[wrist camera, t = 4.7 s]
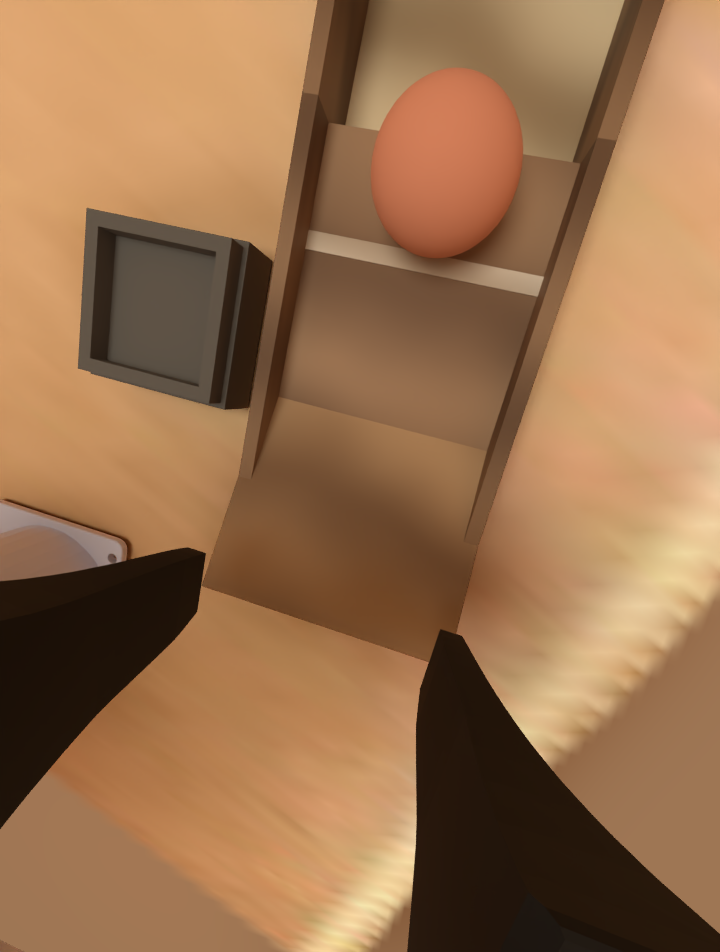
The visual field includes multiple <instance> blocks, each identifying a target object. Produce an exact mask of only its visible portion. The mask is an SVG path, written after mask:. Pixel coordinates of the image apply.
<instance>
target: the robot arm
mask: <svg viewBox="0 0 720 952" xmlns="http://www.w3.org/2000/svg"><path fill="white" fill-rule="evenodd" d="M114 555H115V556H116V558H117V559H116V558H115V557H114ZM205 556H206V553H203V552H200V551H197V550H194V549H191V548H180V549H175V550H170V551H165V552H161V553H156V554H152V555H148V556H144V557H139V558H135V559H131V560H126V557H127V545H126V543H125V542H124V541H123V540H122V539H120V538H118V537H114V536H111V535H108V534H105V533H102V532H99V531H96V530H93V529H90V528H87V527H84V526H81V525H78V524H75V523H72V522H69V521H66V520H63V519H60V518H56V517H53V516H50V515H47V514H44V513H41V512H38V511H35V510H32V509H29V508H26V507H23V506H20V505H17V504H14V503H11V502H8V501H5V500H0V829H1V827H2V826H3V825H4V823H5V822H6V821H7V820H8V818H9V817H10V816H11V815H12V813H13V812H14V811H15V810H16V809H17V807H18V806H19V805H20V804H21V802H22V801H23V800H24V799H25V797H26V796H27V795H28V794H29V793H30V791H31V790H32V789H33V788H34V787H35V785H36V784H37V783H38V782H39V781H40V779H41V778H42V777H43V776H44V775H45V774H46V772H47V771H48V770H49V769H50V768H51V766H52V765H53V764H54V763H55V762H56V761H57V759H58V758H59V757H60V756H61V755H62V753H63V752H64V751H65V750H66V749H67V748H68V747H69V745H70V744H71V743H72V742H73V741H74V740H75V739H76V738H77V736H78V735H79V734H80V733H81V732H82V731H83V730H84V729H85V727H86V726H87V725H88V724H89V723H90V722H91V721H92V719H93V718H94V717H95V716H96V715H97V714H98V713H99V712H100V711H101V710H102V709H103V708H104V707H105V706H106V705H107V704H108V703H109V702H110V701H111V700H112V699H113V698H114V697H115V696H116V695H117V694H118V693H119V692H120V691H121V690H122V689H123V688H125V687H126V686H127V685H128V684H129V683H130V682H131V681H132V680H133V679H134V678H135V677H136V676H137V675H138V674H139V673H140V672H141V671H142V670H144V669H145V668H146V667H147V666H148V665H149V664H150V663H151V662H152V661H153V660H154V659H155V658H156V657H157V656H158V655H159V654H160V653H161V652H162V651H163V650H164V649H165V648H166V647H167V646H169V645H170V644H171V643H172V642H173V641H174V640H175V638H176V637H177V636H178V635H179V634H180V632H181V631H182V630H183V629H184V628H185V626H186V625H187V624H188V623H189V621H190V620H191V619H192V618H193V616H194V615H195V614H196V612H197V609H198V602H199V595H200V589H201V582H202V576H203V569H204V562H205ZM416 793H417V828H416V851H415V864H414V877H413V891H412V903H411V915H410V927H409V938H408V949H407V952H720V934H719V933H718V932H717V931H716V930H715V929H713V928H712V927H711V926H710V925H709V924H708V923H707V922H706V921H705V920H703V919H702V918H701V917H700V916H699V915H698V914H697V913H695V912H694V911H693V910H692V909H691V908H690V907H689V906H687V905H686V904H685V903H684V902H683V901H682V900H681V899H680V898H678V897H677V896H676V895H675V894H674V893H673V892H672V891H670V890H669V889H668V888H667V887H666V886H665V885H664V884H662V883H661V882H660V881H659V880H658V879H657V878H656V877H655V876H654V875H653V874H652V873H650V872H649V871H648V870H647V869H646V868H645V867H644V866H643V865H642V864H641V863H640V862H639V861H638V860H637V859H636V858H635V857H634V856H633V855H632V854H631V853H630V852H629V851H628V850H627V849H626V848H624V846H622V845H621V844H620V843H619V842H618V841H617V840H616V839H615V838H614V837H613V836H612V835H611V834H610V833H609V832H608V831H607V830H606V829H605V828H604V827H603V826H602V825H601V824H600V822H599V821H597V819H596V818H595V817H594V816H593V815H592V814H591V813H590V812H589V811H588V810H587V809H586V808H585V806H584V805H583V804H582V803H581V802H580V801H579V800H578V799H577V798H576V797H575V796H574V795H573V793H572V792H571V791H570V790H569V789H568V788H567V787H566V786H565V785H564V784H563V782H562V781H561V780H560V779H559V778H558V777H557V776H556V774H555V773H554V772H553V771H552V769H551V768H550V767H549V766H548V765H547V763H546V762H545V761H544V760H543V758H542V757H541V756H540V755H539V753H538V752H537V751H536V750H535V748H534V747H533V746H532V745H531V743H530V742H529V741H528V739H527V738H526V737H525V735H524V734H523V733H522V731H521V730H520V729H519V727H518V726H517V724H516V723H515V721H514V720H513V719H512V717H511V716H510V714H509V713H508V711H507V710H506V709H505V707H504V706H503V704H502V702H501V701H500V699H499V698H498V696H497V695H496V693H495V692H494V690H493V688H492V687H491V685H490V684H489V682H488V680H487V679H486V677H485V675H484V674H483V672H482V670H481V669H480V667H479V665H478V663H477V662H476V660H475V658H474V656H473V655H472V653H471V651H470V649H469V647H468V646H467V644H466V642H465V640H464V639H463V637H462V636H460V635H457V634H454V633H451V632H448V631H445V630H442V629H440V631H439V634H438V637H437V640H436V643H435V646H434V649H433V652H432V655H431V658H430V661H429V664H428V667H427V670H426V673H425V676H424V679H423V682H422V685H421V688H420V694H419V703H418V712H417V722H416ZM0 952H23V951H21V950H19V949H17V948H15V947H13V946H11V945H9V944H7V943H5V942H3V941H1V940H0Z"/></svg>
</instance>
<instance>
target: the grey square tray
mask: <svg viewBox="0 0 720 952" xmlns="http://www.w3.org/2000/svg"><path fill="white" fill-rule="evenodd" d="M271 266H272V261H271V260H270V259H269V258H268V257H267V256H265V255H264V254H263V253H262V252H261V251H259V250H258V249H257V248H256V247H255V246H253V245H252V244H251V243H250V242H246V241H242V240H237V239H232V238H228V237H224V236H219V235H214V234H209V233H204V232H200V231H195V230H190V229H185V228H180V227H176V226H171V225H166V224H161V223H156V222H152V221H147V220H142V219H137V218H133V217H128V216H123V215H118V214H113V213H109V212H104V211H99V210H94V209H89V208H87V212H86V230H85V248H84V267H83V285H82V304H81V322H80V340H79V359H78V369H82V370H86V371H89V372H91V374H94V375H98V376H102V377H106V378H109V379H113V380H117V381H120V382H124V383H128V384H131V385H135V386H139V387H143V388H146V389H150V390H154V391H157V392H161V393H165V394H169V395H172V396H176V397H180V398H183V399H187V400H191V401H194V402H198V403H202V404H206V405H209V406H213V407H217V408H220V409H224V410H226V409H241V408H248V405H249V399H250V393H251V387H252V381H253V375H254V369H255V363H256V357H257V351H258V345H259V339H260V332H261V326H262V320H263V314H264V308H265V302H266V296H267V290H268V284H269V278H270V272H271Z"/></svg>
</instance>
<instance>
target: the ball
mask: <svg viewBox="0 0 720 952" xmlns="http://www.w3.org/2000/svg"><path fill="white" fill-rule="evenodd" d="M522 160H523V139H522V131H521V126H520V122H519V119H518V116H517V113H516V110H515V108H514V106H513V104H512V102H511V100H510V99H509V97H508V96H507V94H506V93H505V91H504V90H503V89H502V88H501V87H500V86H499V84H497V83H496V82H495V81H494V80H493V79H491V78H490V77H488V76H487V75H485V74H483V73H481V72H478V71H475V70H472V69H467V68H446V69H441V70H438V71H435V72H432V73H430V74H428V75H426V76H424V77H423V78H421V79H419V80H418V81H416V82H415V83H414V84H412V85H411V86H410V87H409V88H408V89H407V90H406V91H405V92H404V93H403V94H402V95H401V96H400V97H399V98H398V99H397V100H396V102H395V103H394V105H393V106H392V108H391V109H390V111H389V112H388V114H387V115H386V117H385V119H384V121H383V123H382V126H381V128H380V130H379V133H378V136H377V138H376V142H375V146H374V150H373V155H372V163H371V190H372V196H373V201H374V205H375V208H376V211H377V214H378V216H379V218H380V220H381V222H382V224H383V226H384V228H385V229H386V231H387V232H388V234H389V235H390V236H391V237H392V238H393V239H394V240H395V241H396V242H397V243H398V244H399V245H400V246H401V247H403V248H404V249H406V250H407V251H409V252H411V253H413V254H416V255H419V256H422V257H427V258H446V257H452V256H455V255H458V254H461V253H463V252H465V251H467V250H469V249H471V248H472V247H474V246H476V245H477V244H478V243H480V242H481V241H482V240H483V239H485V238H486V237H487V236H488V235H489V234H490V233H491V232H492V231H493V229H494V228H495V227H496V226H497V225H498V224H499V222H500V221H501V219H502V218H503V216H504V215H505V213H506V212H507V210H508V208H509V206H510V204H511V202H512V200H513V197H514V195H515V192H516V189H517V187H518V183H519V179H520V174H521V170H522Z"/></svg>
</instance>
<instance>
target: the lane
mask: <svg viewBox="0 0 720 952" xmlns="http://www.w3.org/2000/svg"><path fill="white" fill-rule="evenodd" d="M663 3H664V0H318V1H317V7H316V13H315V19H314V25H313V31H312V37H311V43H310V49H309V55H308V61H307V67H306V73H305V79H304V85H303V91H302V97H301V103H300V109H299V115H298V121H297V128H296V134H295V140H294V146H293V152H292V158H291V164H290V170H289V176H288V182H287V188H286V194H285V200H284V206H283V212H282V218H281V224H280V230H279V236H278V242H277V248H276V254H275V260H274V266H273V272H272V278H271V284H270V290H269V296H268V302H267V308H266V314H265V321H264V327H263V333H262V339H261V345H260V351H259V357H258V363H257V369H256V375H255V381H254V387H253V393H252V399H251V405H250V411H249V417H248V423H247V429H246V435H245V441H244V447H243V453H242V459H241V465H240V471H239V477H238V480H237V483H236V486H235V489H234V492H233V495H232V498H231V501H230V503H229V506H228V509H227V512H226V515H225V518H224V521H223V524H222V527H221V530H220V533H219V536H218V539H217V542H216V545H215V548H214V551H213V554H212V557H211V560H210V563H209V566H208V569H207V572H206V575H205V578H204V581H203V584H202V586H203V587H206V588H209V589H212V590H215V591H218V592H221V593H224V594H227V595H230V596H233V597H236V598H239V599H242V600H245V601H248V602H251V603H254V604H257V605H260V606H263V607H266V608H269V609H272V610H275V611H278V612H281V613H284V614H287V615H290V616H293V617H296V618H299V619H302V620H305V621H308V622H311V623H314V624H317V625H320V626H323V627H326V628H329V629H332V630H335V631H338V632H341V633H344V634H347V635H350V636H353V637H356V638H359V639H362V640H365V641H368V642H371V643H374V644H377V645H380V646H383V647H385V648H388V649H391V650H394V651H397V652H400V653H403V654H406V655H409V656H412V657H415V658H418V659H421V660H424V661H427V662H429V661H430V658H431V655H432V652H433V649H434V646H435V643H436V640H437V637H438V634H439V631H440V629H442V630H445V631H448V632H451V633H454V634H456V631H457V627H458V623H459V619H460V615H461V611H462V607H463V603H464V600H465V596H466V592H467V588H468V584H469V580H470V576H471V572H472V568H473V564H474V560H475V556H476V552H477V548H478V544H479V542H480V539H481V536H482V533H483V530H484V527H485V524H486V521H487V518H488V515H489V512H490V509H491V506H492V503H493V501H494V498H495V495H496V492H497V489H498V486H499V483H500V480H501V477H502V474H503V471H504V468H505V465H506V463H507V460H508V457H509V454H510V451H511V448H512V445H513V442H514V439H515V436H516V433H517V430H518V427H519V424H520V422H521V419H522V416H523V413H524V410H525V407H526V404H527V401H528V398H529V395H530V392H531V389H532V386H533V384H534V381H535V378H536V375H537V372H538V369H539V366H540V363H541V360H542V357H543V354H544V351H545V348H546V345H547V343H548V340H549V337H550V334H551V331H552V328H553V325H554V322H555V319H556V316H557V313H558V310H559V307H560V305H561V302H562V299H563V296H564V293H565V290H566V287H567V284H568V281H569V278H570V275H571V272H572V269H573V267H574V264H575V261H576V258H577V255H578V252H579V249H580V246H581V243H582V240H583V237H584V234H585V231H586V228H587V226H588V223H589V220H590V217H591V214H592V211H593V208H594V205H595V202H596V199H597V196H598V193H599V190H600V188H601V185H602V182H603V179H604V176H605V173H606V170H607V167H608V164H609V161H610V158H611V155H612V152H613V149H614V147H615V144H616V141H617V138H618V135H619V132H620V129H621V126H622V123H623V120H624V117H625V114H626V111H627V109H628V106H629V103H630V100H631V97H632V94H633V91H634V88H635V85H636V82H637V79H638V76H639V73H640V70H641V68H642V65H643V62H644V59H645V56H646V53H647V50H648V47H649V44H650V41H651V38H652V35H653V32H654V30H655V27H656V24H657V21H658V18H659V15H660V12H661V9H662V6H663ZM446 68H467V69H472V70H475V71H478V72H481V73H483V74H485V75H487V76H488V77H490V78H491V79H493V80H494V81H495V82H496V83H497V84H499V86H500V87H501V88H502V89H503V90H504V91H505V93H506V94H507V96H508V97H509V99H510V100H511V102H512V104H513V106H514V108H515V110H516V113H517V116H518V119H519V122H520V126H521V131H522V139H523V160H522V170H521V174H520V179H519V183H518V187H517V189H516V192H515V195H514V197H513V200H512V202H511V204H510V206H509V208H508V210H507V212H506V213H505V215H504V216H503V218H502V219H501V221H500V222H499V224H498V225H497V226H496V227H495V228H494V229H493V231H492V232H491V233H490V234H489V235H488V236H487V237H486V238H485V239H483V240H482V241H481V242H480V243H478V244H477V245H476V246H474V247H472V248H471V249H469V250H467V251H465V252H463V253H461V254H458V255H455V256H452V257H446V258H427V257H422V256H419V255H416V254H413V253H411V252H409V251H407V250H406V249H404V248H403V247H401V246H400V245H399V244H398V243H397V242H396V241H395V240H394V239H393V238H392V237H391V236H390V235H389V234H388V232H387V231H386V229H385V228H384V226H383V224H382V222H381V220H380V218H379V216H378V214H377V211H376V208H375V205H374V201H373V196H372V190H371V163H372V155H373V150H374V146H375V142H376V138H377V136H378V133H379V130H380V128H381V126H382V123H383V121H384V119H385V117H386V115H387V114H388V112H389V111H390V109H391V108H392V106H393V105H394V103H395V102H396V100H397V99H398V98H399V97H400V96H401V95H402V94H403V93H404V92H405V91H406V90H407V89H408V88H409V87H410V86H411V85H412V84H414V83H415V82H416V81H418V80H419V79H421V78H423V77H424V76H426V75H428V74H430V73H432V72H435V71H438V70H441V69H446Z"/></svg>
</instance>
